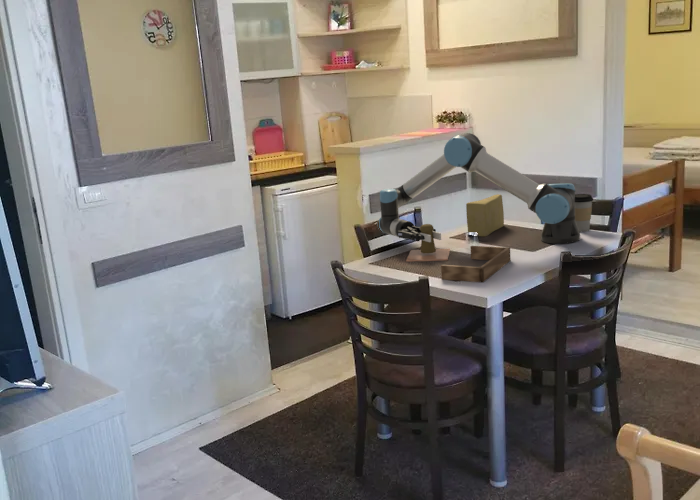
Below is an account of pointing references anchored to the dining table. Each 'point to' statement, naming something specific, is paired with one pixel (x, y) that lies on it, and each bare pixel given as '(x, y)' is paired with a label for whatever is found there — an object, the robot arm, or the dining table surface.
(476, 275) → the walnut bay
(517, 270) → the dining table surface
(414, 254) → the terracotta tile
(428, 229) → the olive pepper mill
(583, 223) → the coffee cup
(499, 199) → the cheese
